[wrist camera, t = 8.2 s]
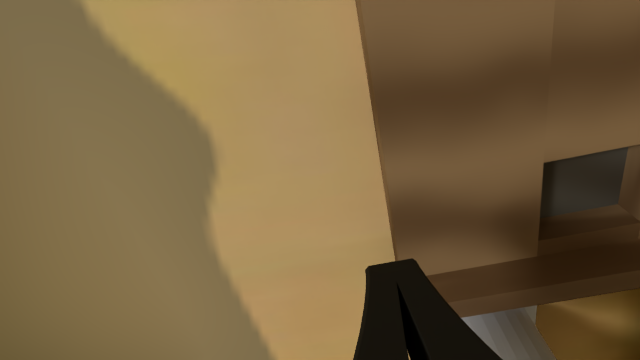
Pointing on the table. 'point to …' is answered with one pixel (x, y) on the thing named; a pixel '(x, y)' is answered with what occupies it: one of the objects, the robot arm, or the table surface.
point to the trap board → (509, 144)
